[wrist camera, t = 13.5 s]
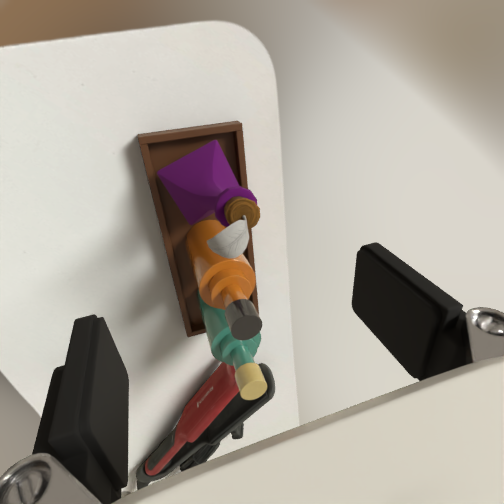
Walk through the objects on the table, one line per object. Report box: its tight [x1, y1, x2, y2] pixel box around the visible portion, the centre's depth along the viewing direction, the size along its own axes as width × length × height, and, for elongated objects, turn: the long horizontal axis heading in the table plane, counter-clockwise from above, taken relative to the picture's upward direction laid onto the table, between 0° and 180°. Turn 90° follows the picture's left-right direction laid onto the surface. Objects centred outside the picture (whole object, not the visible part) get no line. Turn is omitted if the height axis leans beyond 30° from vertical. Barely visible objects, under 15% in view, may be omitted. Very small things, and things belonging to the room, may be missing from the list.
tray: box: [138, 121, 259, 337], centre depth 44 cm, size 30×12×2 cm, turn 4°
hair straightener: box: [136, 362, 275, 490], centre depth 61 cm, size 16×40×8 cm, turn 144°
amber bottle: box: [185, 220, 262, 341], centre depth 37 cm, size 6×6×18 cm
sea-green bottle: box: [196, 290, 267, 400], centre depth 42 cm, size 6×6×18 cm
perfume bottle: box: [157, 140, 260, 259], centre depth 32 cm, size 8×8×18 cm
